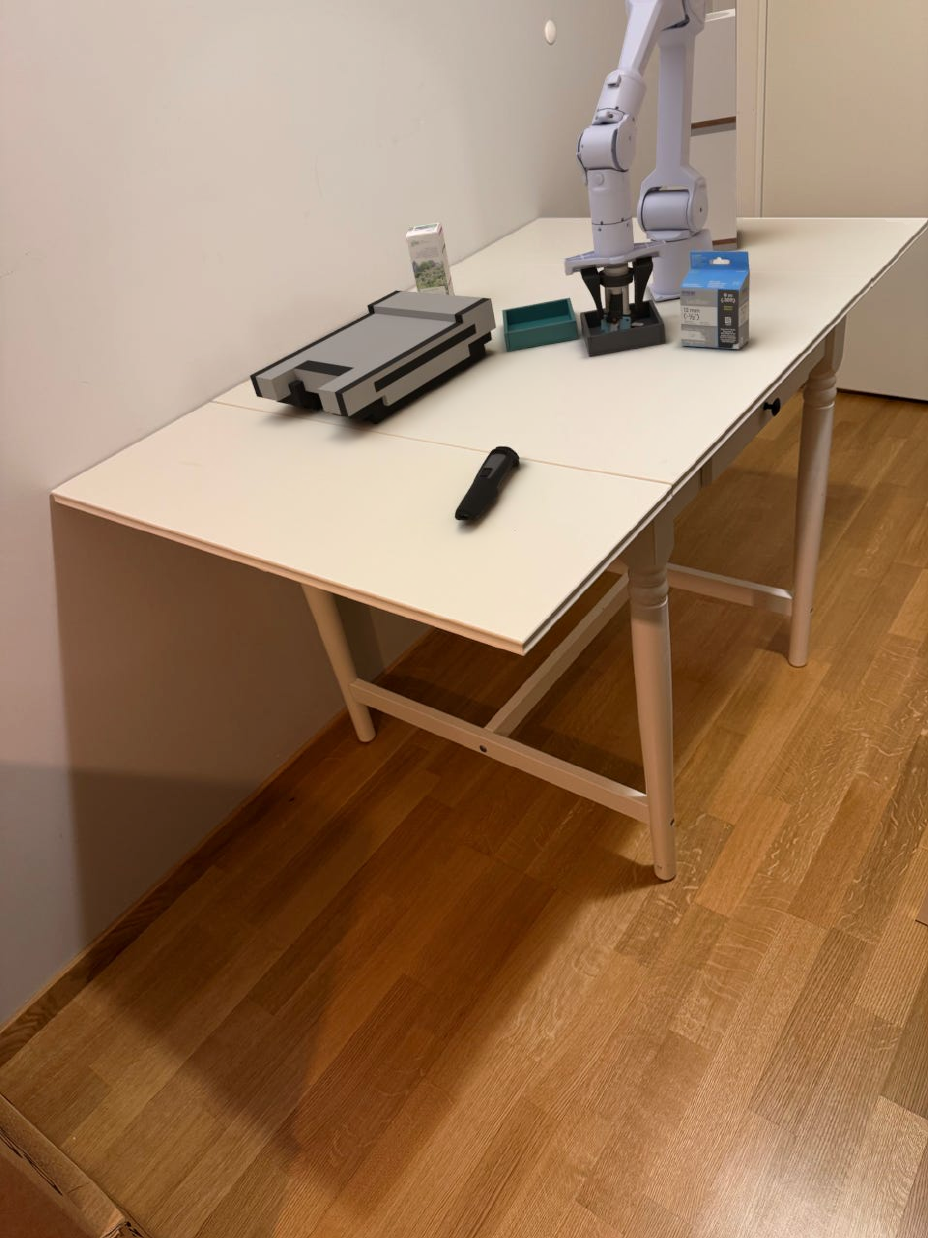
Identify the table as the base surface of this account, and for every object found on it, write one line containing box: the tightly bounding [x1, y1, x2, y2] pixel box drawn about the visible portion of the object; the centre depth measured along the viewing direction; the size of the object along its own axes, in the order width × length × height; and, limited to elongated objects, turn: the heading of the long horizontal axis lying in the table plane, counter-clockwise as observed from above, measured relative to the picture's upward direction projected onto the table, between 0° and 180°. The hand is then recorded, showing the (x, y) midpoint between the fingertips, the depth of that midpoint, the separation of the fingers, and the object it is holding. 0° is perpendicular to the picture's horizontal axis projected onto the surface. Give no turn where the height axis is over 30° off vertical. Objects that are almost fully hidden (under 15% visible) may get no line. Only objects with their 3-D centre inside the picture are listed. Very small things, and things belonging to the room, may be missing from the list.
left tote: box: [501, 297, 579, 352], centre depth 144 cm, size 11×11×3 cm
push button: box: [598, 263, 643, 333], centre depth 134 cm, size 7×5×10 cm
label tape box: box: [679, 250, 751, 350], centre depth 125 cm, size 9×4×12 cm, turn 53°
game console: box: [249, 290, 497, 425], centre depth 138 cm, size 21×32×8 cm, turn 139°
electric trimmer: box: [454, 445, 521, 522], centre depth 105 cm, size 4×16×3 cm, turn 159°
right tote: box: [579, 299, 666, 357], centre depth 136 cm, size 11×11×3 cm
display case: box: [666, 8, 738, 251], centre depth 155 cm, size 11×11×35 cm
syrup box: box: [405, 222, 456, 295], centre depth 159 cm, size 6×6×14 cm
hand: (619, 314), depth 135 cm, fingers closed on push button, 5 cm apart
